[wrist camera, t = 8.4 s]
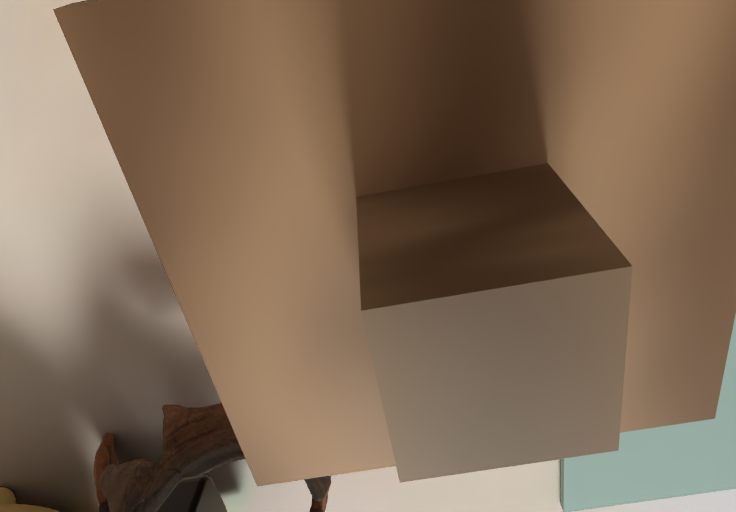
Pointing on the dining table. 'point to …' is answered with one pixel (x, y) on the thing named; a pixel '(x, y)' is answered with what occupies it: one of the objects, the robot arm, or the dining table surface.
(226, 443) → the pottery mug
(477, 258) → the walnut lid
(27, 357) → the dining table surface
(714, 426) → the teal mat
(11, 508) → the yellow rounded lump
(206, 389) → the dining table surface
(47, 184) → the dining table surface
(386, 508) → the dining table surface
